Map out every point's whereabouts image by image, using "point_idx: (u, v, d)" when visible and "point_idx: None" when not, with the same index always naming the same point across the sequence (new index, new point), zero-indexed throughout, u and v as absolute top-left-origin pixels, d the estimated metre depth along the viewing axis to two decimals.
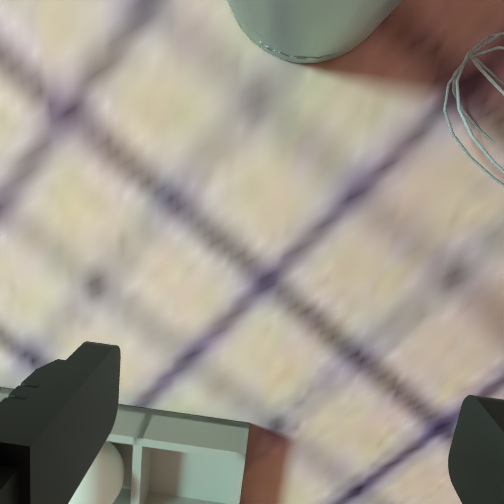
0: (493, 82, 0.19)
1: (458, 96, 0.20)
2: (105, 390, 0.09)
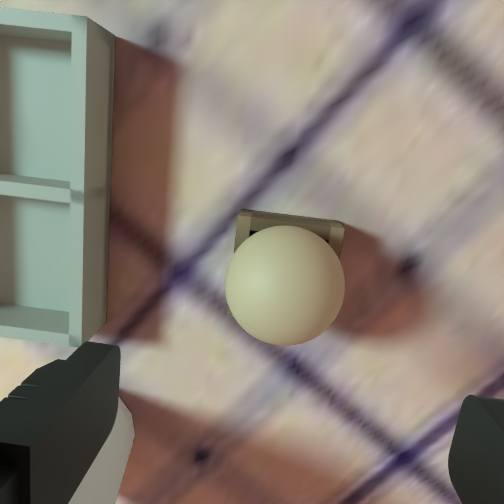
0: None
1: None
2: (105, 389, 0.09)
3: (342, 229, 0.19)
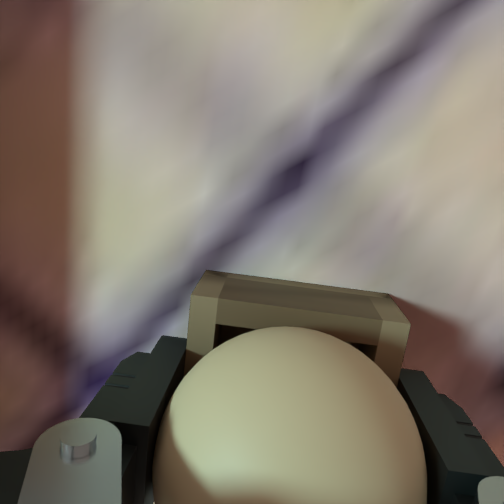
0: None
1: None
2: None
3: (406, 325, 0.09)
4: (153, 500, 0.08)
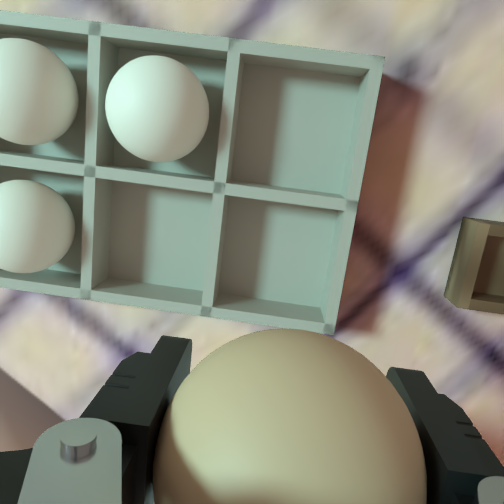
0: None
1: None
2: (183, 379, 0.10)
3: None
4: (153, 500, 0.08)
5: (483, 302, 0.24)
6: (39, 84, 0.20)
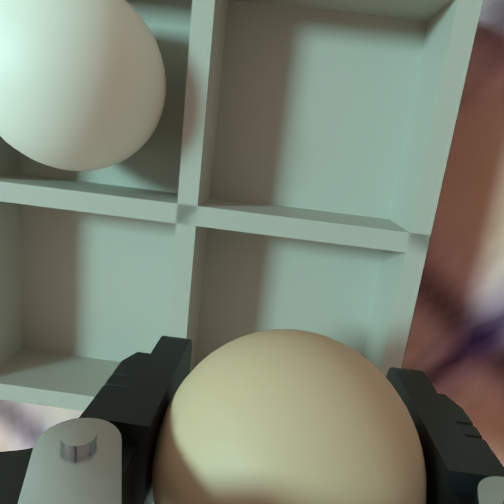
0: None
1: None
2: (183, 379, 0.10)
3: None
4: (153, 500, 0.08)
5: None
6: None
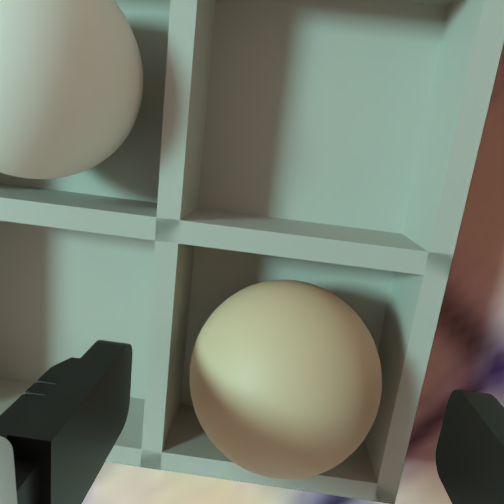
0: None
1: None
2: (118, 387, 0.09)
3: None
4: None
5: None
6: None
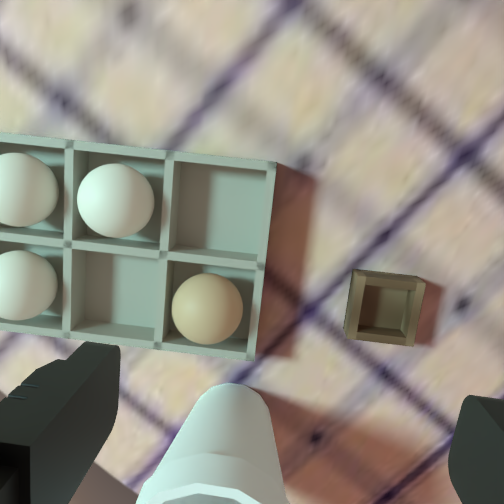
0: None
1: None
2: (105, 389, 0.09)
3: (424, 284, 0.30)
4: None
5: (366, 334, 0.31)
6: (29, 188, 0.27)
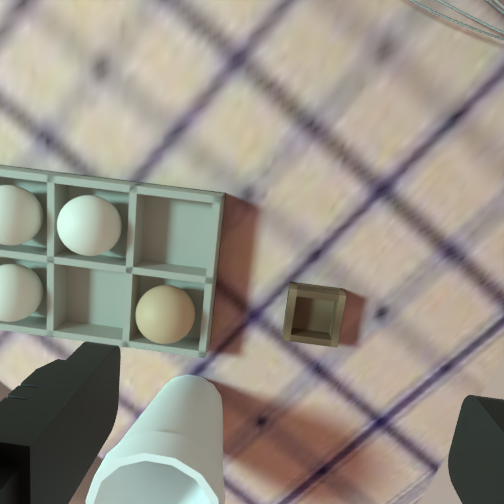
0: None
1: None
2: (105, 389, 0.09)
3: (345, 296, 0.36)
4: None
5: (299, 336, 0.38)
6: (17, 216, 0.34)
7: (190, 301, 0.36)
